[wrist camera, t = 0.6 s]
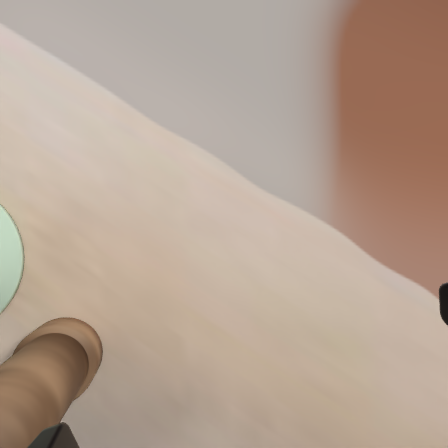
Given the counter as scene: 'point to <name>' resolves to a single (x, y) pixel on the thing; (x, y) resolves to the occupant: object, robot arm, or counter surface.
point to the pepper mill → (45, 378)
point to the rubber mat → (9, 258)
